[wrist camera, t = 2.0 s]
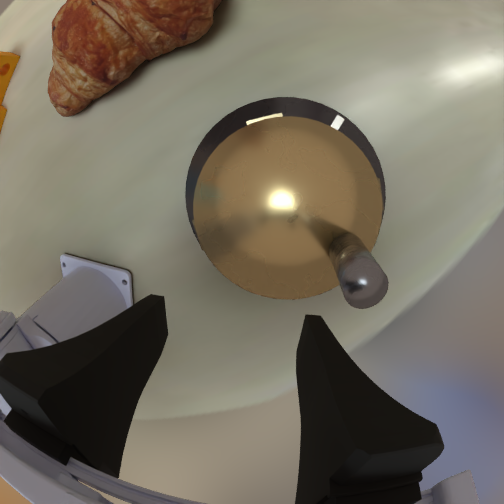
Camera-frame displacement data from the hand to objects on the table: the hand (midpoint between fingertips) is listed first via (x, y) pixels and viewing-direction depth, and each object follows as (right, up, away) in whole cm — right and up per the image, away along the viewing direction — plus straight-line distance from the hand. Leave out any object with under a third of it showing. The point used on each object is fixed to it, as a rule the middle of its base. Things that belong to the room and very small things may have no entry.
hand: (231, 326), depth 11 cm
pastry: (-7, +21, +2) cm, 22 cm away
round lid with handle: (+3, +6, +6) cm, 9 cm away
